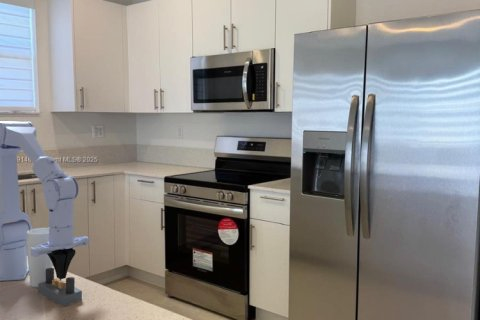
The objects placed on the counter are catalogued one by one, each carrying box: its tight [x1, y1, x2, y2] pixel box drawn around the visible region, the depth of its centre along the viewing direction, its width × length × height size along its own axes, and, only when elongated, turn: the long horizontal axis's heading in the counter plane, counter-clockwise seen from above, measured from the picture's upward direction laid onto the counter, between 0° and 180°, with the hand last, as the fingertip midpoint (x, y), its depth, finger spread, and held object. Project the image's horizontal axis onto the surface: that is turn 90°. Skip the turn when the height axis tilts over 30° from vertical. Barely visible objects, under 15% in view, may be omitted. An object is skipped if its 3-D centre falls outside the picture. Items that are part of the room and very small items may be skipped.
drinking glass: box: [25, 227, 53, 289], centre depth 114 cm, size 7×7×15 cm
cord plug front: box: [65, 276, 76, 294], centre depth 105 cm, size 2×2×4 cm
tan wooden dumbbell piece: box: [52, 277, 66, 289], centre depth 108 cm, size 4×2×1 cm, turn 53°
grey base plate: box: [37, 277, 83, 307], centre depth 108 cm, size 12×5×2 cm, turn 53°
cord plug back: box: [46, 267, 55, 284], centre depth 110 cm, size 2×2×4 cm
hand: (61, 277), depth 107 cm, fingers closed
